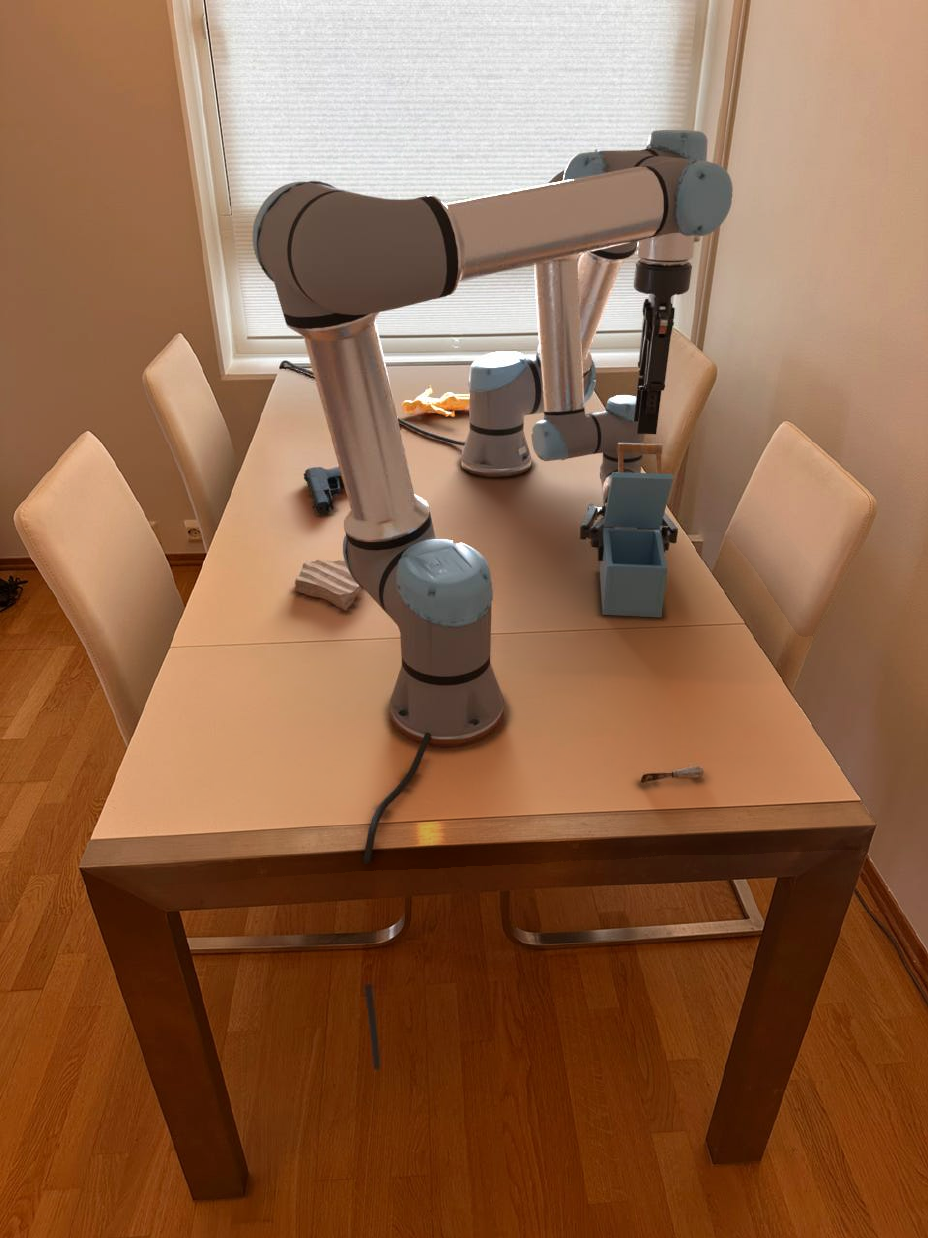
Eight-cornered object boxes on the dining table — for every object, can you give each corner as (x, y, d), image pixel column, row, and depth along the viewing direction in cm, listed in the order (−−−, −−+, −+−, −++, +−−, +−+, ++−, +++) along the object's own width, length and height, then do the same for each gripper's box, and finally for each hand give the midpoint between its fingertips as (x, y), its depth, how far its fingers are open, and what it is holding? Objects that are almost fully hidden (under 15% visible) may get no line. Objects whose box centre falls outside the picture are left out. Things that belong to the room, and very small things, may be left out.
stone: (382, 577, 152) (381, 564, 151) (347, 611, 143) (346, 598, 142) (316, 564, 157) (314, 551, 155) (279, 596, 147) (277, 583, 146)
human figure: (395, 413, 223) (394, 398, 221) (438, 390, 237) (438, 375, 235) (462, 429, 215) (462, 413, 213) (502, 404, 229) (503, 388, 227)
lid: (673, 479, 135) (672, 432, 139) (612, 477, 136) (612, 431, 139) (660, 529, 148) (659, 485, 151) (603, 527, 148) (604, 483, 152)
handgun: (374, 509, 176) (313, 517, 173) (359, 474, 190) (302, 481, 188) (373, 494, 174) (311, 502, 172) (358, 460, 188) (301, 466, 186)
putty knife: (703, 777, 109) (705, 767, 109) (642, 788, 108) (644, 777, 107) (700, 772, 110) (702, 762, 109) (639, 782, 109) (640, 771, 108)
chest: (661, 617, 141) (667, 568, 137) (602, 614, 142) (607, 565, 137) (653, 576, 153) (659, 529, 148) (599, 573, 154) (603, 527, 149)
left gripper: (702, 273, 113) (677, 449, 125) (683, 249, 128) (663, 408, 140) (642, 272, 113) (623, 447, 125) (630, 248, 128) (615, 407, 140)
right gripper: (680, 518, 167) (696, 577, 148) (563, 514, 168) (563, 572, 149) (685, 481, 163) (702, 537, 144) (565, 477, 164) (565, 531, 145)
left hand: (644, 426), depth 133 cm, fingers open, 5 cm apart
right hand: (631, 554), depth 147 cm, fingers closed on chest, 9 cm apart
